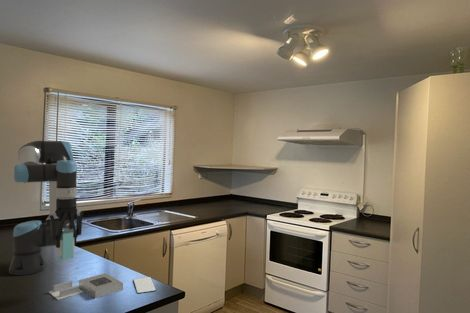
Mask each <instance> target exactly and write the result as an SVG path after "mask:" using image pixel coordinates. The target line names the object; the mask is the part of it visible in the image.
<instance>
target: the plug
mask: <svg viewBox="0 0 470 313" xmlns="http://www.w3.org/2000/svg"><path fill="white" fill-rule="evenodd" d="M73 232H74V229H72V228H70V227H68V228H63V230H62V234H61V239H62V256H60V255H58V257H59V259H61V260H62V261H64V260H68V259H73V258H74V253H73Z"/></svg>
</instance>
